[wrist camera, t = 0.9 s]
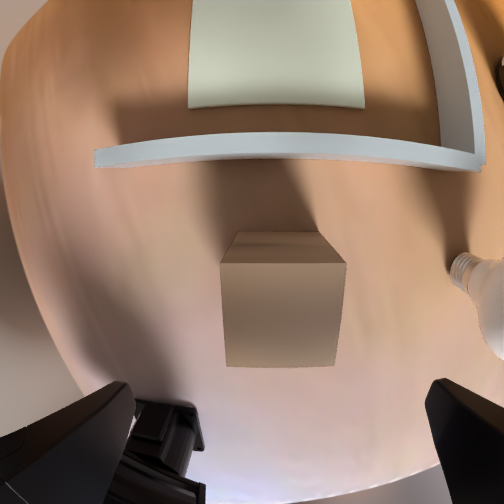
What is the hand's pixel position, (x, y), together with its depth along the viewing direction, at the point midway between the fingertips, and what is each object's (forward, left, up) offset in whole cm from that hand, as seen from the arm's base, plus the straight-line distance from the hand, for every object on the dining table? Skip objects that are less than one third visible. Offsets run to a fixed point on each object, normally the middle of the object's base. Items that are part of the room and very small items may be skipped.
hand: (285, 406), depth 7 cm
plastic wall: (+15, -1, -12) cm, 19 cm away
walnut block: (0, 0, -12) cm, 12 cm away
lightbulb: (0, -14, -12) cm, 19 cm away
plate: (+16, 0, -12) cm, 20 cm away
